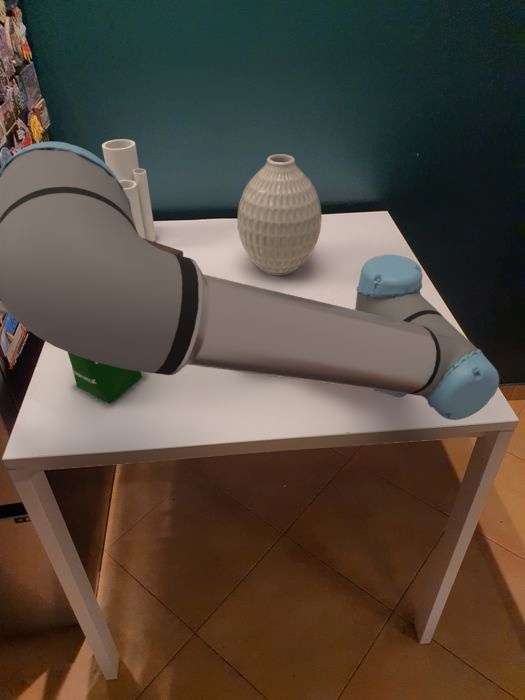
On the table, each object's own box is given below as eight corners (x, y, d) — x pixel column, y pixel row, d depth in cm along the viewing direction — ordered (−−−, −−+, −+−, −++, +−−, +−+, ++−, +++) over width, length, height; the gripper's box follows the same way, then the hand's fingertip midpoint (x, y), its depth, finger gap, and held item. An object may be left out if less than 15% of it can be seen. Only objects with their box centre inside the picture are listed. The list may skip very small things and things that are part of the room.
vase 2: (258, 295, 98) (257, 181, 84) (227, 256, 110) (222, 150, 96) (332, 277, 103) (343, 166, 89) (295, 242, 115) (300, 139, 101)
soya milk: (68, 388, 79) (30, 275, 66) (111, 356, 85) (84, 246, 72) (109, 411, 75) (78, 296, 62) (151, 375, 81) (131, 263, 68)
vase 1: (115, 231, 119) (98, 142, 106) (146, 225, 121) (132, 137, 108) (129, 253, 111) (111, 159, 98) (161, 246, 113) (148, 153, 100)
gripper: (292, 383, 75) (167, 330, 85) (332, 335, 84) (214, 293, 93) (293, 342, 70) (161, 292, 80) (336, 297, 79) (211, 256, 89)
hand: (190, 292), depth 87 cm, fingers closed
